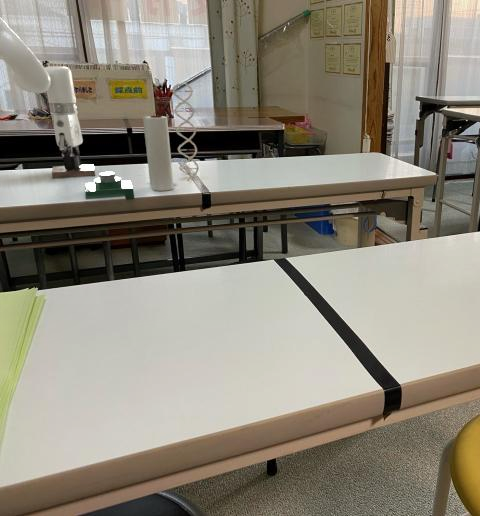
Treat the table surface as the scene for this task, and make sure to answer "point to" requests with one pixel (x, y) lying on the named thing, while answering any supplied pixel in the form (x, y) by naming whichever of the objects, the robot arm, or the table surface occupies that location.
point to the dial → (76, 161)
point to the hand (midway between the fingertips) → (73, 167)
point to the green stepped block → (109, 189)
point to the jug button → (107, 176)
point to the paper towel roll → (158, 152)
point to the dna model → (188, 130)
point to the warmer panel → (73, 171)
